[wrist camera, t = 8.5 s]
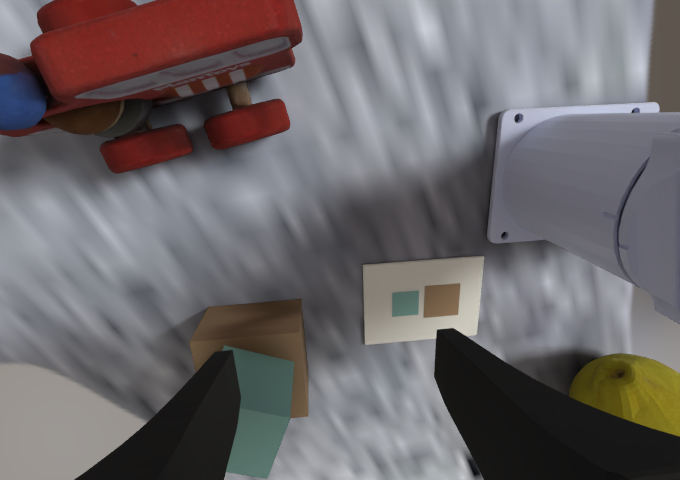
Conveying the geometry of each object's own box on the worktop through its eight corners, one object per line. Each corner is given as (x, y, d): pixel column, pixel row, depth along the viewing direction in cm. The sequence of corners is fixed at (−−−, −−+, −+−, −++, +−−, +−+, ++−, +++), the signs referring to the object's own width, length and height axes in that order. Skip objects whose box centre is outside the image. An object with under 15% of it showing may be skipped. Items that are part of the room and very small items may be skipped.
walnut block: (301, 297, 23) (299, 332, 19) (308, 371, 25) (308, 416, 21) (209, 305, 23) (189, 342, 19) (223, 380, 25) (208, 426, 21)
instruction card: (482, 255, 23) (484, 256, 23) (475, 333, 25) (476, 335, 25) (362, 264, 23) (363, 266, 22) (364, 343, 25) (365, 345, 24)
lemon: (650, 403, 29) (770, 504, 21) (561, 440, 29) (648, 551, 22) (631, 301, 25) (767, 378, 18) (530, 344, 26) (621, 438, 18)
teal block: (294, 361, 20) (290, 418, 16) (275, 414, 21) (266, 478, 17) (224, 345, 19) (203, 400, 16) (208, 401, 20) (185, 464, 17)
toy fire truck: (38, 40, 17) (-317, -61, 7) (282, -22, 17) (249, -204, 7) (103, 177, 20) (-102, 238, 10) (318, 123, 20) (328, 129, 10)
